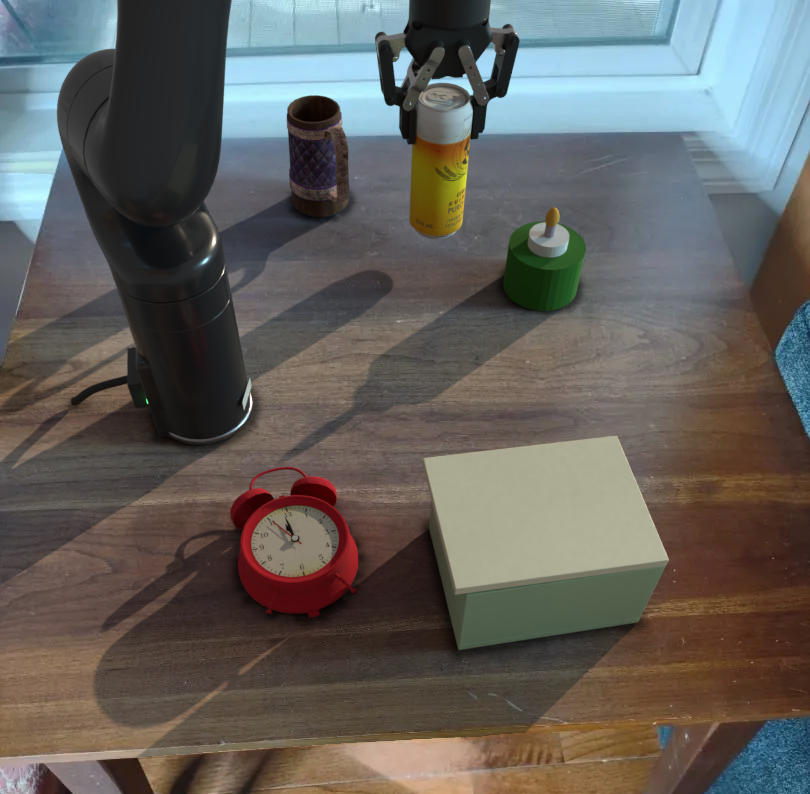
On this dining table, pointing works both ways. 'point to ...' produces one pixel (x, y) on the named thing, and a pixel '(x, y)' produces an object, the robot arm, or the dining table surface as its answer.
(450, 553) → the lid
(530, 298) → the candle
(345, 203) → the mug
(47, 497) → the dining table surface
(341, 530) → the alarm clock
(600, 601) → the chest
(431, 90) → the beer can
